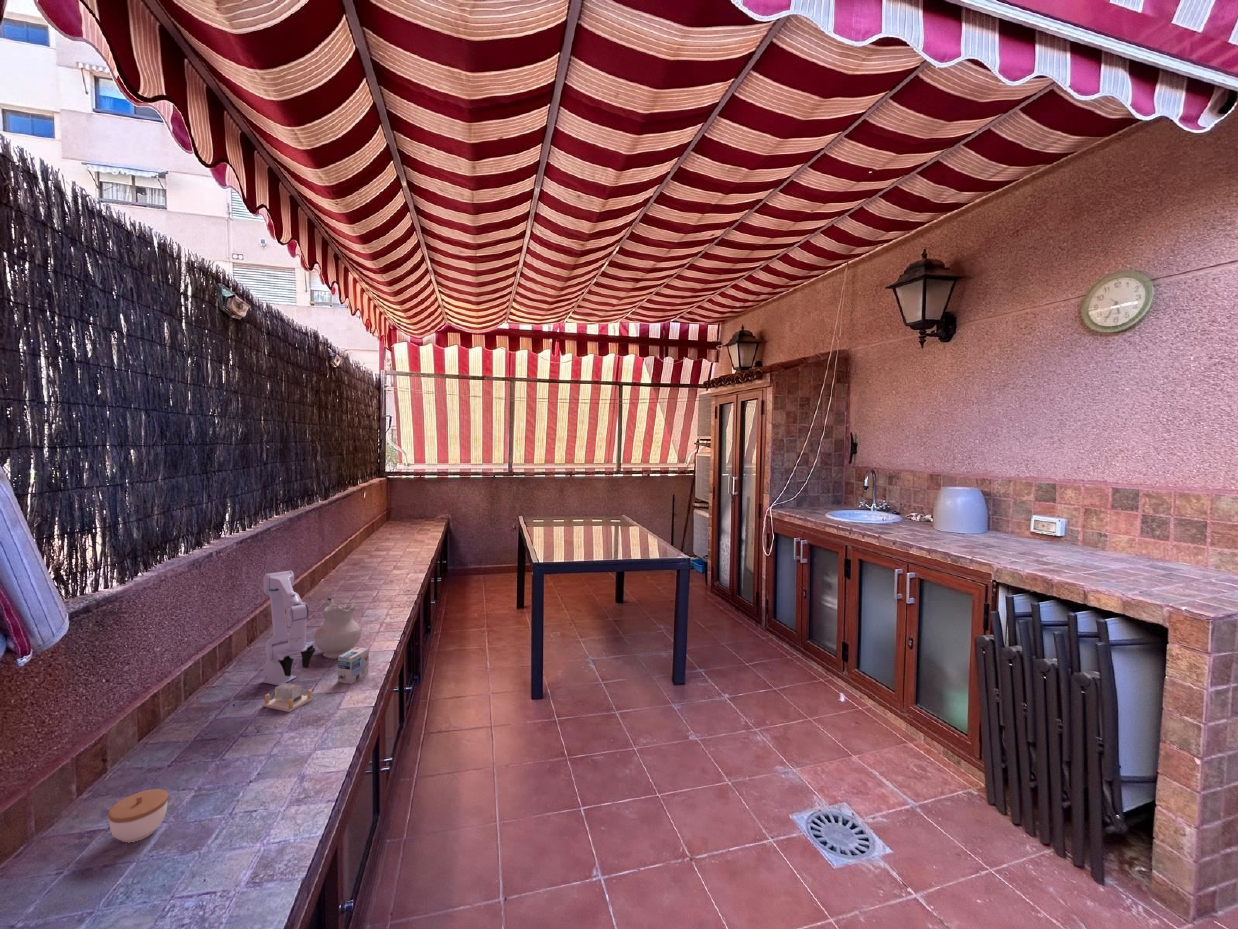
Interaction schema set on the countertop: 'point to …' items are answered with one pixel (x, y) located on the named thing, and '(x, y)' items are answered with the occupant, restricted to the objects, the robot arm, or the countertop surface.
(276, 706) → the wooden peg board
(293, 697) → the mauve rectangular box
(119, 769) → the countertop surface
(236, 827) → the countertop surface
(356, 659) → the light bulb box
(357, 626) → the beige vase
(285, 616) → the robot arm
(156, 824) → the lidded jar
